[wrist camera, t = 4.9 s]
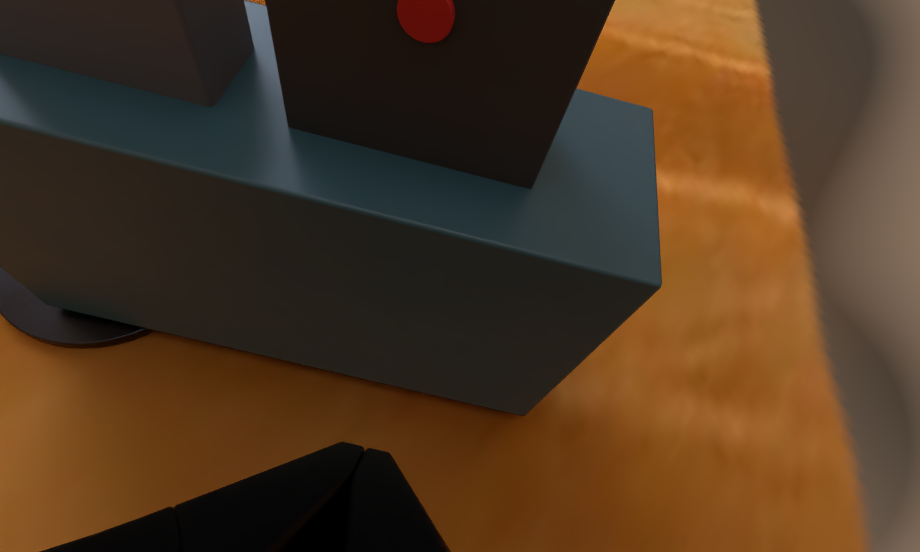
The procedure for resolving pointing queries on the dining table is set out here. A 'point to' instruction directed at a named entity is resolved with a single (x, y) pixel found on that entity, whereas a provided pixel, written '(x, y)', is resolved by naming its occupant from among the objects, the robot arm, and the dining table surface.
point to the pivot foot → (59, 320)
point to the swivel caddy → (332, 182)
